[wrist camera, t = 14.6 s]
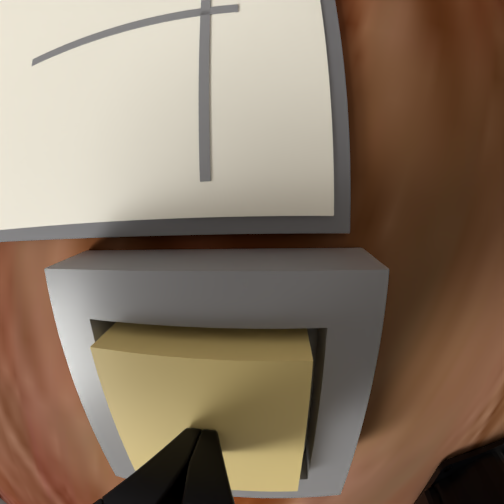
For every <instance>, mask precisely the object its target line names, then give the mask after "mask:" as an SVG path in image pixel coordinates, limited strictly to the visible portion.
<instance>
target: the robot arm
mask: <svg viewBox="0 0 504 504" xmlns="http://www.w3.org/2000/svg"><path fill="white" fill-rule="evenodd" d="M93 504H235V503H234V499H233V495H232V491H231V487H230V483H229V479H228V475H227V471H226V467H225V462H224V458H223V454H222V449H221V445H220V440H219V436H218V432H217V431H216V430H209V429H203V430H201V429H198V428H186V429H184V430H183V431H182V432H181V433H180V434H179V435H178V436H177V437H175V438H174V439H173V440H172V441H171V442H170V443H169V444H167V445H166V446H165V447H164V448H163V449H162V450H160V451H159V452H158V453H157V454H156V455H155V456H153V457H152V458H151V459H150V460H149V461H147V462H146V463H145V464H144V465H143V466H141V467H140V468H139V469H138V470H136V471H135V472H134V473H133V474H131V475H130V476H129V477H128V478H126V479H125V480H124V481H123V482H121V483H120V484H119V485H117V486H116V487H115V488H114V489H112V490H111V491H110V492H108V493H107V494H106V495H104V496H103V497H102V499H99V500H97V501H96V502H95V503H93ZM414 504H504V439H502V440H499V441H497V442H495V443H492V444H490V445H487V446H485V447H482V448H479V449H477V450H474V451H471V452H469V453H466V454H463V455H460V456H457V457H454V458H451V459H448V460H445V461H444V462H442V463H441V464H440V465H439V466H438V468H437V469H436V471H435V473H434V474H433V476H432V477H431V479H430V481H429V482H428V484H427V485H426V487H425V488H424V490H423V491H422V493H421V494H420V496H419V497H418V499H417V500H416V502H415V503H414Z"/></svg>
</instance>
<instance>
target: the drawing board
mask: <svg viewBox="0 0 504 504" xmlns="http://www.w3.org/2000/svg"><path fill="white" fill-rule="evenodd" d="M350 209H351V179H350V141H349V120H348V105H347V92H346V80H345V70H344V61H343V52H342V44H341V36H340V29H339V22H338V16H337V9H336V3H335V0H0V242H8V241H27V240H49V239H73V238H100V237H130V236H167V235H213V234H293V233H350Z"/></svg>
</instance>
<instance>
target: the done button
mask: <svg viewBox="0 0 504 504" xmlns="http://www.w3.org/2000/svg"><path fill="white" fill-rule="evenodd" d="M90 349H91V353H92V356H93V360H94V363H95V367H96V370H97V373H98V377H99V380H100V383H101V386H102V389H103V392H104V395H105V398H106V401H107V404H108V407H109V409H110V412H111V415H112V418H113V420H114V423H115V425H116V428H117V430H118V433H119V435H120V438H121V440H122V443H123V445H124V447H125V450H126V452H127V454H128V456H129V459H130V461H131V463H132V465H133V467H134V469H135V471H136V470H138V469H139V468H140V467H141V466H143V465H144V464H145V463H146V462H147V461H149V460H150V459H151V458H152V457H153V456H155V455H156V454H157V453H158V452H159V451H160V450H162V449H163V448H164V447H165V446H166V445H167V444H169V443H170V442H171V441H172V440H173V439H174V438H175V437H177V436H178V435H179V434H180V433H181V432H182V431H183V430H184V429H186V428H198V429H201V430H203V429H209V430H216V431H217V432H218V436H219V440H220V445H221V449H222V454H223V458H224V462H225V467H226V471H227V475H228V479H229V483H230V487H231V490H240V491H266V492H287V491H298V486H299V479H300V473H301V466H302V459H303V452H304V444H305V436H306V428H307V419H308V410H309V401H310V391H311V380H312V369H313V357H312V352H311V347H310V342H309V336H308V331H307V328H299V329H239V328H204V327H182V326H164V325H149V324H136V323H124V322H116V323H115V324H114V325H113V326H112V327H111V328H109V329H108V330H107V331H106V332H105V333H104V334H103V335H102V336H101V337H100V338H99V339H98V340H97V341H96V342H95V343H94V344H93V345H92V346H90Z"/></svg>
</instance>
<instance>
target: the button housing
mask: <svg viewBox="0 0 504 504" xmlns="http://www.w3.org/2000/svg"><path fill="white" fill-rule="evenodd" d="M45 275H46V280H47V286H48V291H49V296H50V300H51V305H52V309H53V313H54V317H55V322H56V325H57V329H58V333H59V337H60V340H61V344H62V347H63V351H64V354H65V357H66V360H67V363H68V366H69V369H70V372H71V375H72V378H73V381H74V384H75V387H76V389H77V392H78V395H79V397H80V400H81V403H82V405H83V408H84V410H85V412H86V415H87V417H88V420H89V422H90V424H91V426H92V429H93V431H94V433H95V435H96V437H97V440H98V442H99V444H100V446H101V448H102V450H103V452H104V454H105V456H106V458H107V460H108V462H109V464H110V466H111V467H112V469H113V471H114V473H115V475H116V476H119V477H122V478H128V477H129V476H130V475H131V474H133V473H134V472H135V469H134V467H133V465H132V463H131V461H130V459H129V456H128V454H127V452H126V450H125V447H124V445H123V443H122V440H121V438H120V435H119V433H118V430H117V428H116V425H115V423H114V420H113V418H112V415H111V412H110V409H109V407H108V404H107V401H106V398H105V395H104V392H103V389H102V386H101V383H100V380H99V377H98V373H97V370H96V367H95V363H94V360H93V356H92V353H91V349H90V346H92V345H93V344H94V343H95V342H96V341H97V340H98V339H99V338H100V337H101V336H102V335H103V334H104V333H105V332H106V331H107V330H108V329H109V328H111V327H112V326H113V325H114V324H115V323H116V322H124V323H136V324H149V325H164V326H182V327H204V328H239V329H299V328H307V331H308V336H309V342H310V347H311V352H312V357H313V369H312V380H311V391H310V401H309V410H308V419H307V428H306V436H305V444H304V452H303V459H302V466H301V473H300V479H299V486H298V491H287V492H266V491H240V490H231V491H232V495H233V497H251V498H302V497H319V496H331V495H340V494H341V492H342V489H343V486H344V483H345V480H346V477H347V474H348V471H349V468H350V465H351V462H352V459H353V456H354V453H355V449H356V446H357V442H358V439H359V435H360V432H361V428H362V424H363V421H364V417H365V413H366V409H367V405H368V400H369V396H370V392H371V387H372V383H373V378H374V373H375V368H376V363H377V357H378V352H379V346H380V340H381V334H382V327H383V320H384V313H385V306H386V297H387V289H388V279H389V269H388V268H387V267H386V266H385V265H383V264H382V263H381V262H380V261H378V260H377V259H376V258H375V257H373V256H372V255H371V254H370V253H368V252H367V251H366V250H364V249H363V248H258V249H161V250H87V251H85V252H82V253H80V254H77V255H75V256H73V257H70V258H68V259H66V260H63V261H61V262H59V263H56V264H54V265H52V266H49V267H47V268H45Z"/></svg>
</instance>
